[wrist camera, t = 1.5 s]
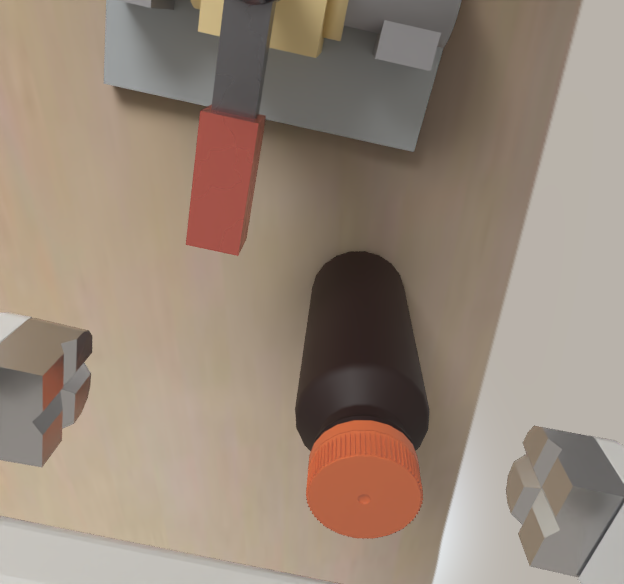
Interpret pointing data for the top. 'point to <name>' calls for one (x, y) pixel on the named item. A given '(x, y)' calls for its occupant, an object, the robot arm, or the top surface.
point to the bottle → (361, 399)
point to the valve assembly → (295, 60)
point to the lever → (231, 130)
